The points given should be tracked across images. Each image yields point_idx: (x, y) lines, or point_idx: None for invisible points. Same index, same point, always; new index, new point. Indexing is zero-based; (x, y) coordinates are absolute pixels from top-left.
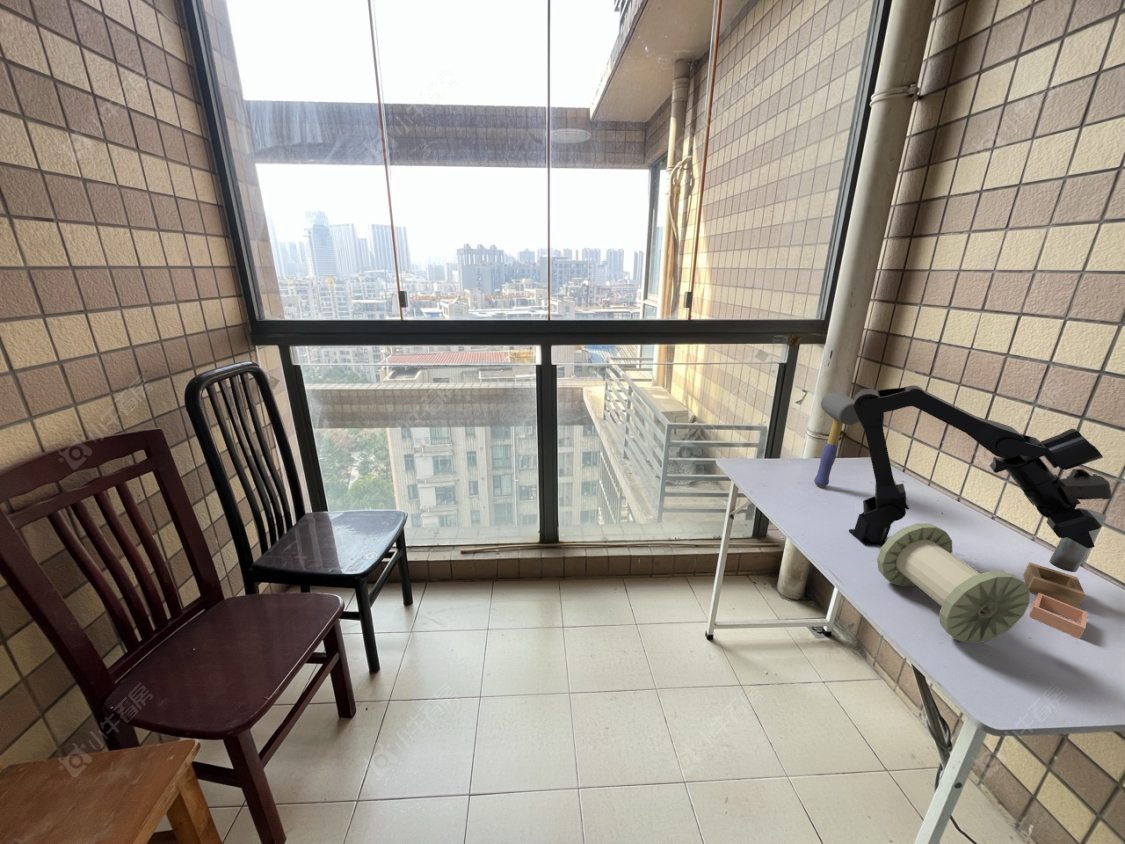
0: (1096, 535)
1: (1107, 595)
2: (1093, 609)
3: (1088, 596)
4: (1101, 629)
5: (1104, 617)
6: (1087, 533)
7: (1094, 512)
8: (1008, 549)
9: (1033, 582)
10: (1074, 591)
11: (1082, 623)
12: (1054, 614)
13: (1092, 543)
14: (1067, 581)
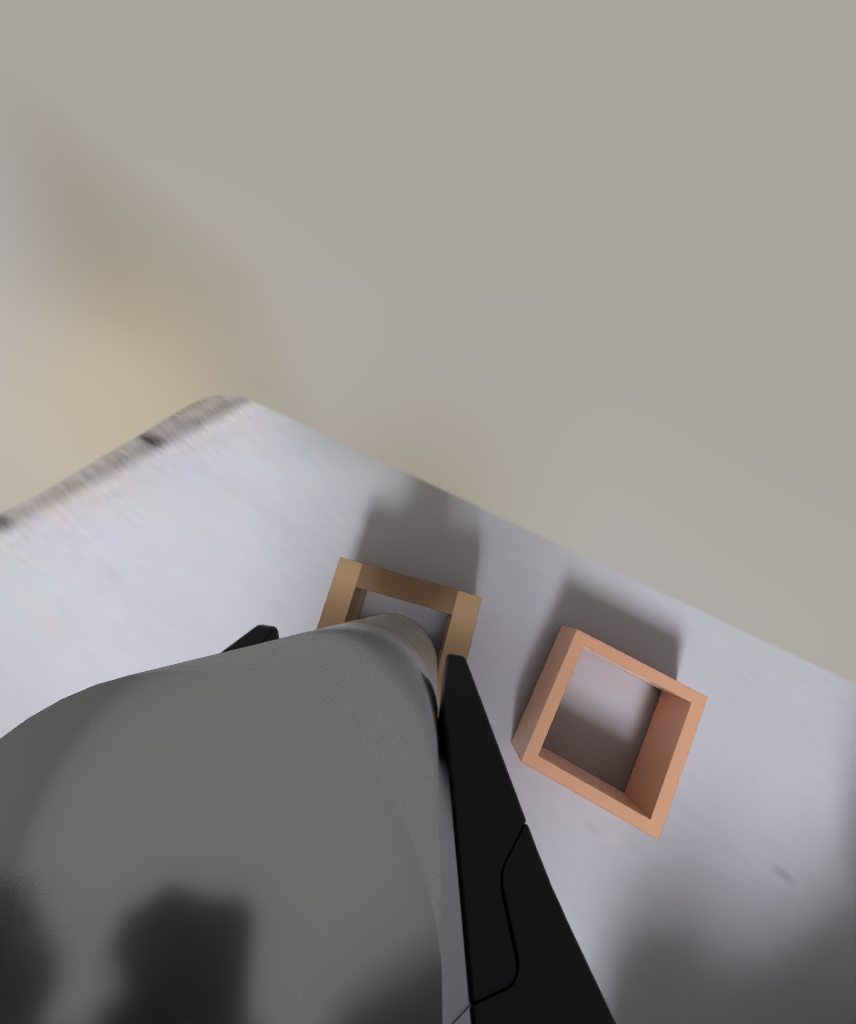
0: (394, 655)
1: (332, 456)
2: (450, 545)
3: (368, 520)
4: (569, 581)
5: (485, 535)
6: (532, 862)
7: (54, 841)
8: (117, 659)
9: None
10: (471, 626)
11: (673, 688)
12: (672, 775)
13: (478, 695)
14: (358, 588)
